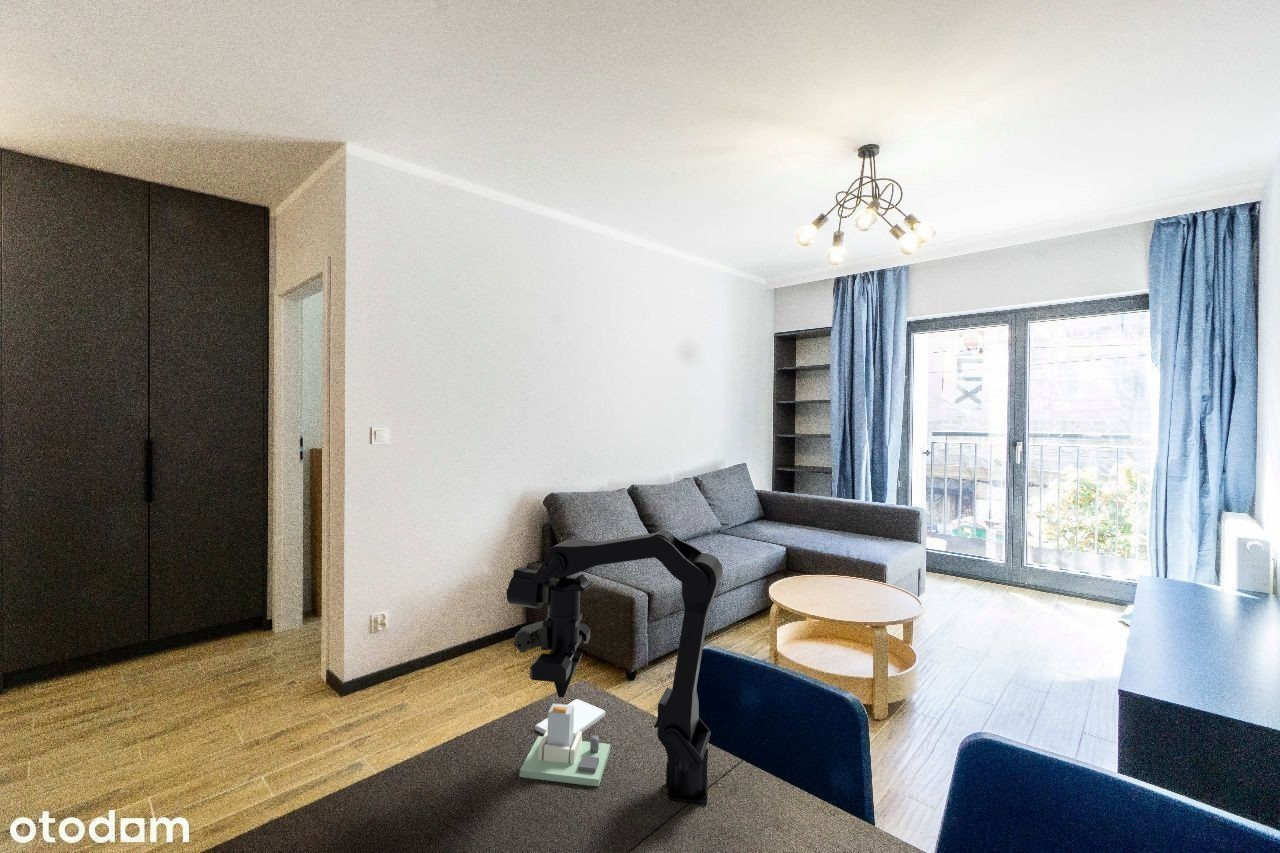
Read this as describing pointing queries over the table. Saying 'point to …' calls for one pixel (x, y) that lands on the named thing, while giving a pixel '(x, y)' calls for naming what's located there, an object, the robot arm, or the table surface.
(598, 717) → the external hard drive
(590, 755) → the board
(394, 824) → the table surface
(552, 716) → the plug
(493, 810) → the table surface
